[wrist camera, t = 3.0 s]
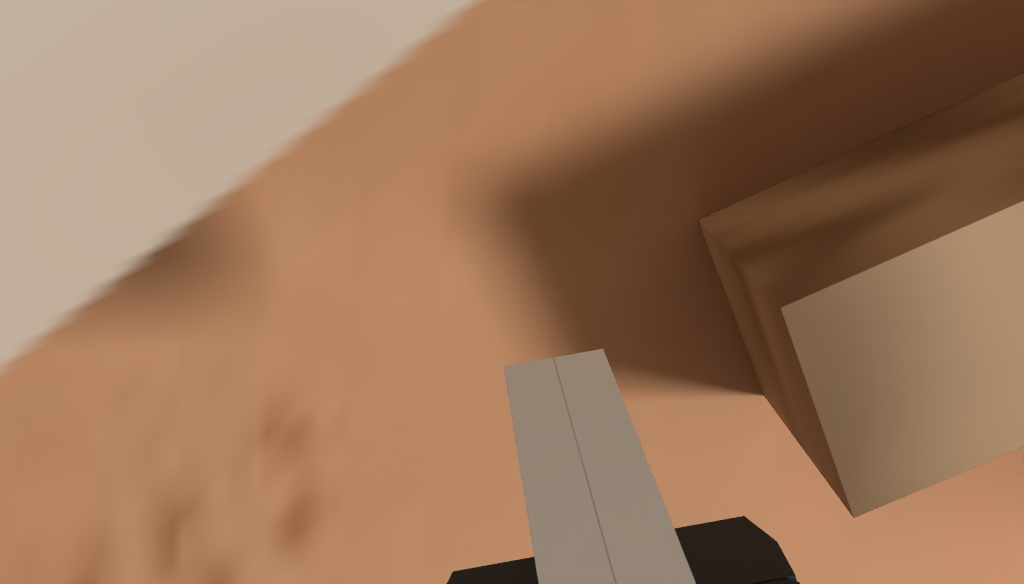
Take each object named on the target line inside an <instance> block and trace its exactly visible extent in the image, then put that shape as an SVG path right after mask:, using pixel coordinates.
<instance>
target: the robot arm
mask: <svg viewBox="0 0 1024 584" xmlns="http://www.w3.org/2000/svg"><path fill="white" fill-rule="evenodd" d="M504 371H505V377H506V384H507V390H508V396H509V402H510V408H511V415H512V421H513V427H514V433H515V440H516V446H517V452H518V458H519V464H520V471H521V477H522V483H523V489H524V496H525V502H526V508H527V514H528V520H529V527H530V533H531V539H532V545H533V552H534V557H531V558H525V559H520V560H514V561H509V562H503V563H498V564H492V565H487V566H481V567H476V568H470V569H465V570H459V571H454V572H452V575H451V577H450V579H449V581H448V583H447V584H800V583H799V582H797V580H796V576H795V574H794V572H793V570H792V568H791V566H790V565H789V563H788V561H787V559H786V557H785V556H784V554H783V552H782V550H781V548H780V546H779V545H778V543H777V541H775V540H774V539H773V538H772V537H770V536H769V535H768V534H766V533H765V532H764V531H763V530H761V529H760V528H759V527H757V526H756V525H755V524H754V523H752V522H751V521H750V520H748V519H747V518H746V517H745V516H742V517H736V518H731V519H725V520H719V521H714V522H708V523H703V524H697V525H692V526H686V527H681V528H675V529H674V527H673V524H672V522H671V519H670V517H669V514H668V512H667V509H666V507H665V504H664V502H663V499H662V496H661V494H660V491H659V489H658V486H657V484H656V481H655V479H654V476H653V474H652V471H651V469H650V466H649V464H648V461H647V459H646V456H645V453H644V451H643V448H642V446H641V443H640V441H639V438H638V436H637V433H636V431H635V428H634V426H633V423H632V421H631V418H630V416H629V413H628V411H627V408H626V405H625V403H624V400H623V398H622V395H621V393H620V390H619V388H618V385H617V383H616V380H615V378H614V375H613V373H612V370H611V368H610V365H609V362H608V360H607V357H606V355H605V352H604V350H603V349H599V350H593V351H587V352H582V353H576V354H570V355H565V356H559V357H554V358H548V359H542V360H537V361H531V362H525V363H520V364H514V365H508V366H504Z"/></svg>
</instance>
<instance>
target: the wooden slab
mask: <svg viewBox="0 0 1024 584" xmlns="http://www.w3.org/2000/svg"><path fill="white" fill-rule="evenodd" d="M698 221H699V224H700V227H701V229H702V232H703V235H704V237H705V240H706V243H707V245H708V248H709V251H710V253H711V256H712V259H713V261H714V264H715V267H716V269H717V272H718V275H719V277H720V280H721V283H722V285H723V288H724V290H725V293H726V296H727V298H728V301H729V304H730V306H731V309H732V312H733V314H734V317H735V320H736V322H737V325H738V328H739V330H740V333H741V336H742V338H743V341H744V344H745V346H746V349H747V352H748V354H749V357H750V360H751V362H752V365H753V368H754V370H755V373H756V376H757V378H758V381H759V384H760V386H761V389H762V392H763V394H764V396H765V398H766V399H767V400H768V402H769V403H770V404H771V406H772V407H773V408H774V410H775V411H776V413H777V414H778V415H779V417H780V418H781V419H782V421H783V422H784V423H785V425H786V426H787V428H788V429H789V430H790V432H791V433H792V434H793V436H794V437H795V438H796V440H797V441H798V443H799V444H800V445H801V447H802V448H803V449H804V451H805V452H806V453H807V455H808V456H809V458H810V459H811V460H812V462H813V463H814V464H815V466H816V467H817V468H818V470H819V471H820V473H821V474H822V475H823V477H824V478H825V479H826V481H827V482H828V483H829V485H830V486H831V488H832V489H833V490H834V492H835V493H836V494H837V496H838V497H839V498H840V500H841V501H842V503H843V504H844V505H845V507H846V508H847V509H848V511H849V512H850V513H851V515H852V516H853V518H855V517H857V516H859V515H862V514H864V513H867V512H869V511H871V510H874V509H876V508H879V507H881V506H883V505H886V504H888V503H891V502H893V501H895V500H898V499H900V498H902V497H905V496H907V495H910V494H912V493H914V492H917V491H919V490H922V489H924V488H926V487H929V486H931V485H933V484H936V483H938V482H941V481H943V480H945V479H948V478H950V477H953V476H955V475H957V474H960V473H962V472H964V471H967V470H969V469H972V468H974V467H976V466H979V465H981V464H984V463H986V462H988V461H991V460H993V459H996V458H998V457H1000V456H1003V455H1005V454H1007V453H1010V452H1012V451H1015V450H1017V449H1019V448H1022V447H1024V73H1022V74H1020V75H1018V76H1016V77H1013V78H1011V79H1009V80H1007V81H1005V82H1002V83H1000V84H998V85H996V86H993V87H991V88H989V89H987V90H985V91H982V92H980V93H978V94H976V95H974V96H971V97H969V98H967V99H965V100H963V101H960V102H958V103H956V104H954V105H951V106H949V107H947V108H945V109H943V110H940V111H938V112H936V113H934V114H932V115H929V116H927V117H925V118H923V119H921V120H918V121H916V122H914V123H912V124H909V125H907V126H905V127H903V128H901V129H898V130H896V131H894V132H892V133H890V134H887V135H885V136H883V137H881V138H879V139H876V140H874V141H872V142H870V143H867V144H865V145H863V146H861V147H859V148H856V149H854V150H852V151H850V152H848V153H845V154H843V155H841V156H839V157H837V158H834V159H832V160H830V161H828V162H825V163H823V164H821V165H819V166H817V167H814V168H812V169H810V170H808V171H806V172H803V173H801V174H799V175H797V176H795V177H792V178H790V179H788V180H786V181H783V182H781V183H779V184H777V185H775V186H772V187H770V188H768V189H766V190H764V191H761V192H759V193H757V194H755V195H753V196H750V197H748V198H746V199H744V200H741V201H739V202H737V203H735V204H733V205H730V206H728V207H726V208H724V209H722V210H719V211H717V212H715V213H713V214H711V215H708V216H706V217H704V218H702V219H699V220H698Z"/></svg>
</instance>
